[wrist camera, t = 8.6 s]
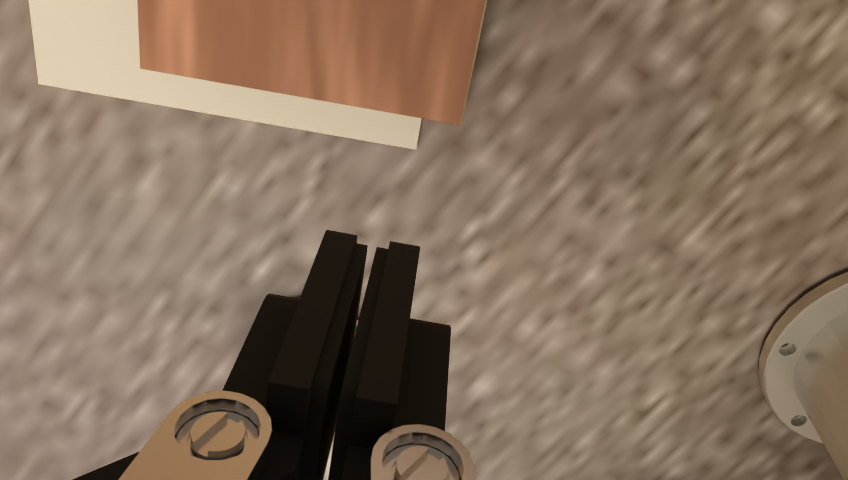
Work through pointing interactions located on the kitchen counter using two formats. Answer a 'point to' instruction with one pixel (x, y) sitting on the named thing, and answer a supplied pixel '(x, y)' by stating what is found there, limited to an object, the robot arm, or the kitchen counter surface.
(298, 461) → the robot arm
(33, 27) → the mat
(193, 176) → the kitchen counter surface
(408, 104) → the slab
